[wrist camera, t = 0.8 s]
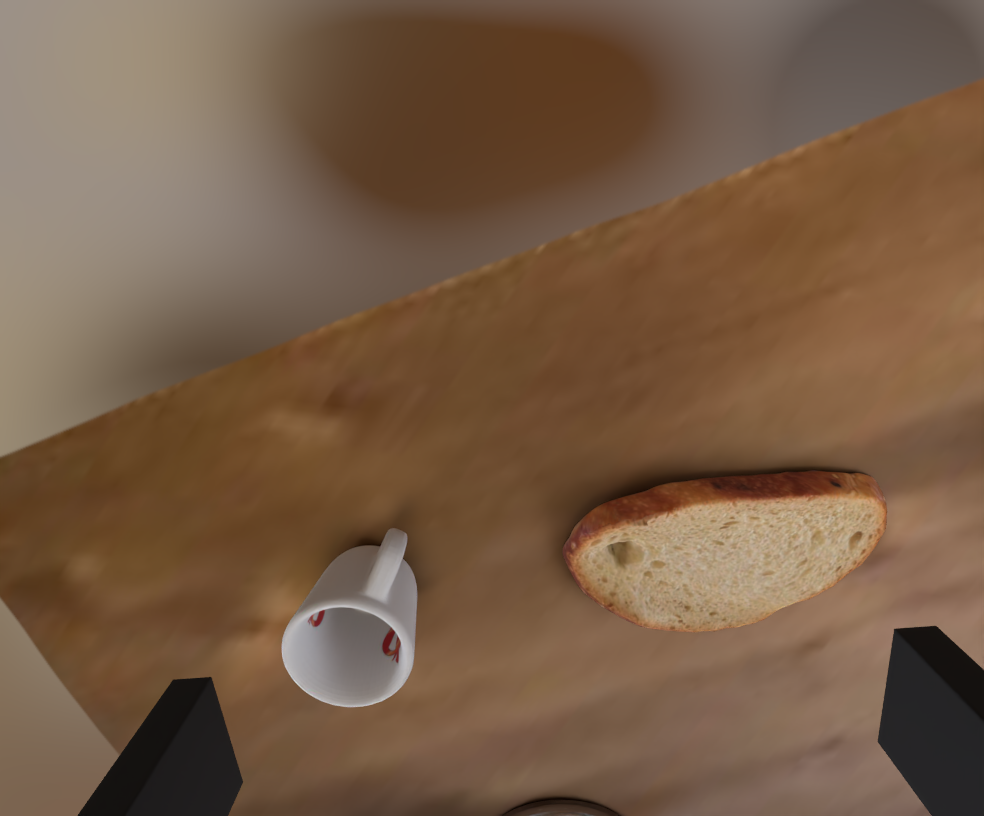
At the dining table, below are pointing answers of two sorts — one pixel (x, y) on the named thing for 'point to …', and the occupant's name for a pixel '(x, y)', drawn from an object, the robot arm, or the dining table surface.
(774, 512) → the bread slice
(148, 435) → the dining table surface
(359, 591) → the cup
